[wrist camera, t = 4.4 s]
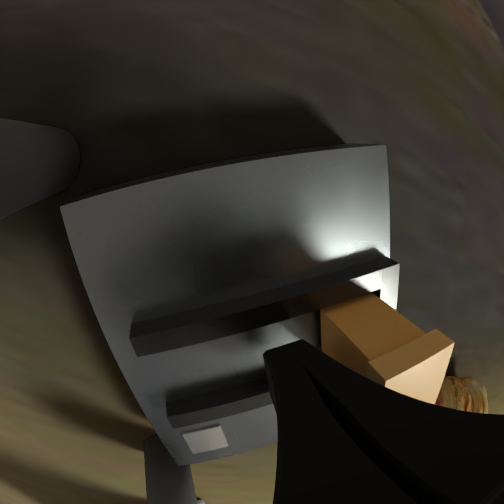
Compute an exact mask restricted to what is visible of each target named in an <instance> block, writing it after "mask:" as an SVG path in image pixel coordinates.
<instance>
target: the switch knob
mask: <svg viewBox="0 0 504 504" xmlns="http://www.w3.org/2000/svg"><path fill="white" fill-rule="evenodd" d="M320 316H321V342H322V352H324V353H325V354H327V355H328V356H330V357H331V358H333V359H335V360H336V361H338V362H340V363H341V364H343V365H345V366H346V367H348V368H350V369H352V370H353V371H355V372H357V373H359V374H360V375H362V376H364V377H366V378H368V379H370V380H372V381H374V382H376V383H378V384H380V385H382V386H385V387H387V388H389V389H391V390H394V391H396V392H398V393H401V394H404V395H407V396H409V397H412V398H415V399H418V400H421V401H424V402H428V403H431V404H435V402H436V400H437V397H438V394H439V391H440V388H441V385H442V382H443V379H444V376H445V373H446V370H447V367H448V364H449V360H450V357H451V353H452V350H453V346H454V342H453V341H452V340H451V339H449V338H448V337H447V336H445V335H444V334H443V333H441V332H440V331H439V330H437V329H434V330H432V331H430V332H429V333H427V334H426V333H425V332H423V331H422V330H421V329H419V328H418V327H417V326H416V325H414V324H413V323H412V322H410V321H409V320H408V319H406V318H405V317H404V316H403V315H401V314H400V313H399V312H397V311H396V310H395V309H393V308H392V307H391V306H389V305H388V304H387V303H385V302H384V301H383V300H381V299H380V298H379V297H377V296H376V295H375V294H373V293H372V292H370V293H367V294H364V295H361V296H358V297H355V298H353V299H350V300H347V301H344V302H341V303H338V304H335V305H332V306H329V307H326V308H323V309H320Z"/></svg>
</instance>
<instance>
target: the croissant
mask: <svg viewBox="0 0 504 504" xmlns="http://www.w3.org/2000/svg"><path fill="white" fill-rule="evenodd" d="M435 405H439V406H443V407H448V408H452V409H457V410H462V411H468V412H476V413H485V414H488V402H487V392H486V389H485V387H484V385H483V384H482V383H481V382H480V381H478V380H476V379H474V378H472V377H463V378H457V377H456V376H447V377H445V378H444V379H443V382H442V385H441V388H440V391H439V394H438V397H437V400H436V402H435Z"/></svg>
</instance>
